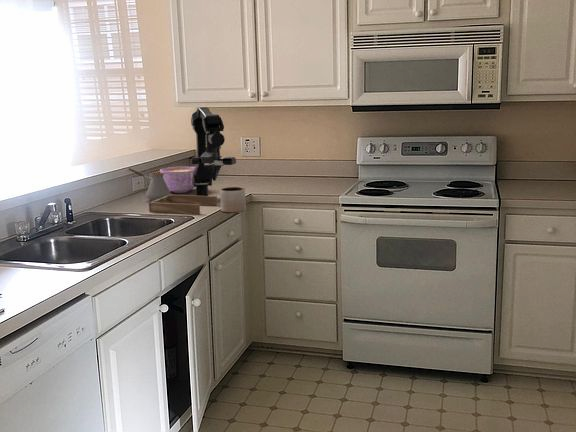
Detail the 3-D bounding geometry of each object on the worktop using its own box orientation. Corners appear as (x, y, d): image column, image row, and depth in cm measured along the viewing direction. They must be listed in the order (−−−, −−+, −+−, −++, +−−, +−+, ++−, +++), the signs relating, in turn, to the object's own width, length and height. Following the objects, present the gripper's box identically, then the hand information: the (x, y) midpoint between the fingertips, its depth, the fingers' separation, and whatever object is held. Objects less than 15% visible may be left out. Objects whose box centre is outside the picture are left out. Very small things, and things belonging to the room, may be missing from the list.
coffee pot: (175, 198, 306) (173, 167, 303) (164, 202, 295) (162, 170, 292) (135, 196, 312) (133, 166, 309) (123, 201, 301) (121, 169, 298)
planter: (233, 207, 282) (232, 186, 280) (251, 210, 276) (250, 188, 274) (215, 211, 274) (214, 189, 272) (233, 214, 267) (232, 191, 265)
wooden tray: (170, 203, 294) (169, 194, 293) (217, 205, 288) (216, 196, 287) (149, 211, 275) (148, 202, 275) (199, 214, 269) (198, 204, 268)
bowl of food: (203, 193, 318) (202, 170, 316) (163, 196, 313) (162, 172, 310) (197, 187, 337) (196, 165, 335) (159, 189, 331) (157, 167, 329)
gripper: (184, 146, 266) (186, 182, 270) (226, 146, 261) (227, 184, 264) (196, 143, 277) (197, 178, 280) (235, 144, 272) (237, 180, 275)
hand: (214, 180), depth 275 cm, fingers closed
